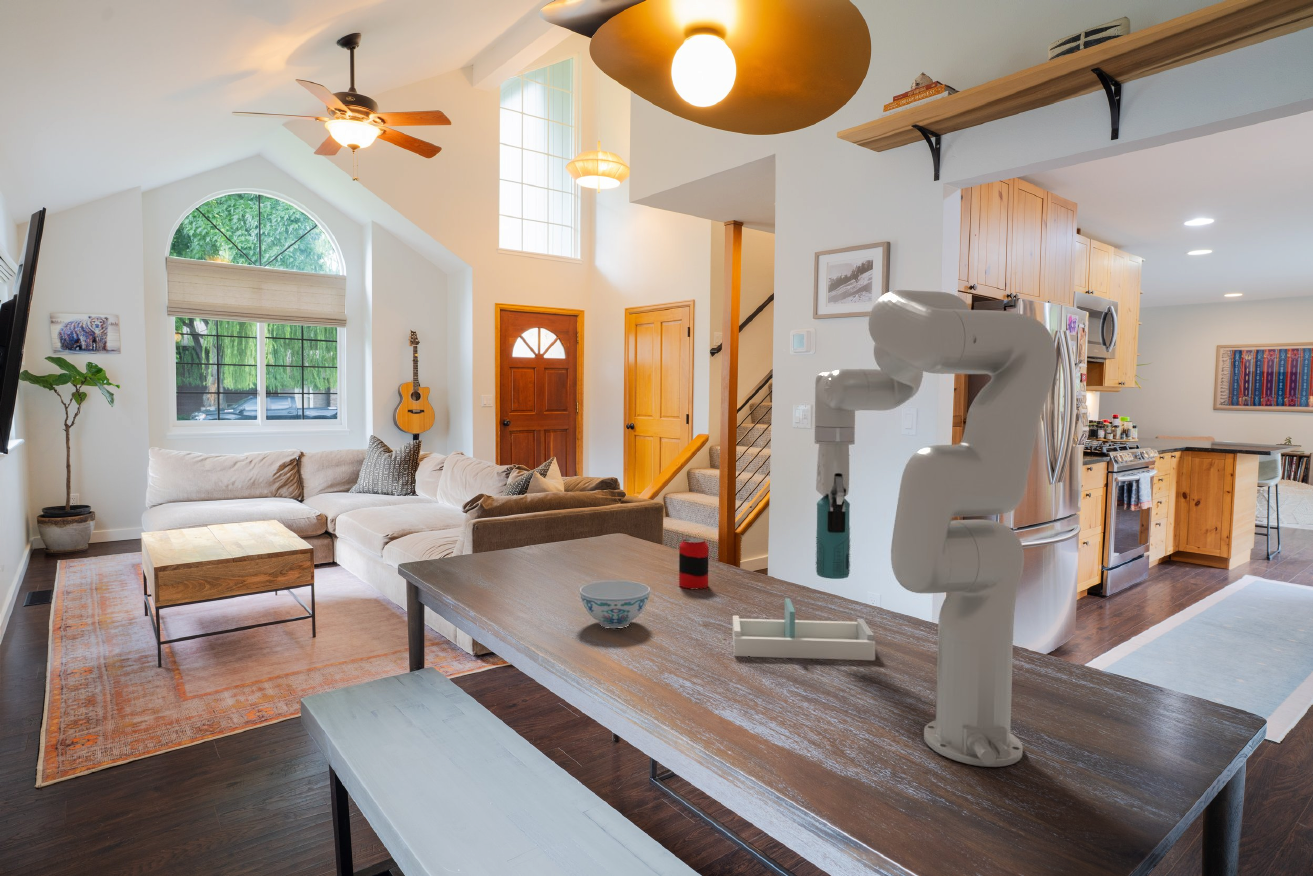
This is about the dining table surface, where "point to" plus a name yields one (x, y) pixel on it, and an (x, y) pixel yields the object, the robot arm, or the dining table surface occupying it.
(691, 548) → the soda can
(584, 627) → the dining table surface
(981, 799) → the dining table surface
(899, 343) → the robot arm
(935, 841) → the dining table surface
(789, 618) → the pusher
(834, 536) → the beverage bottle
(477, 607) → the dining table surface
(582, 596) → the chinaware
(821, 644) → the white divided tray
